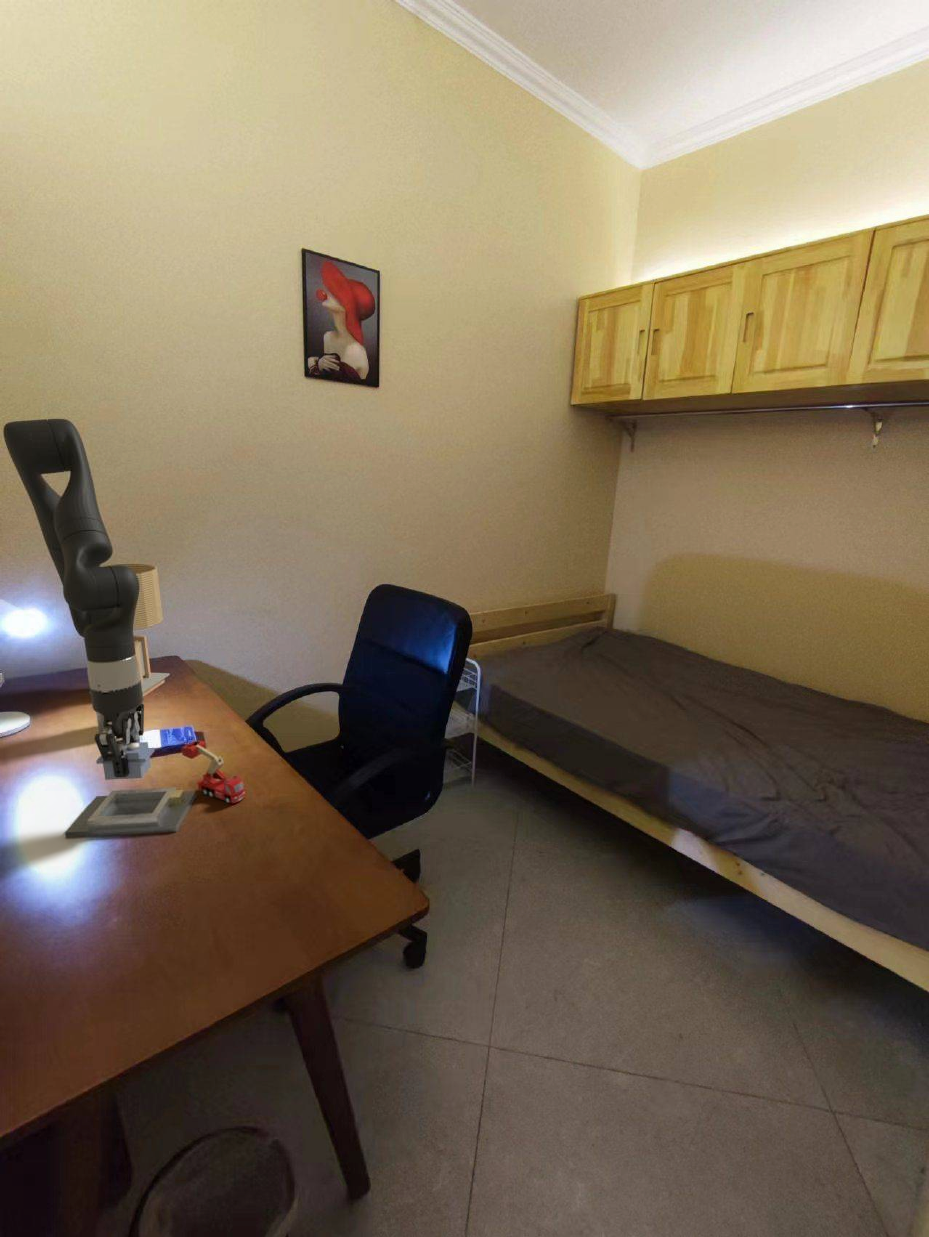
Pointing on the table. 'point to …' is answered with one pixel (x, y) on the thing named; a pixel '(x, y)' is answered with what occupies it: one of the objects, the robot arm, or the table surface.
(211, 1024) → the table surface
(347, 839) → the table surface
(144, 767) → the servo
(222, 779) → the toy fire truck
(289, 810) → the table surface
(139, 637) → the desk lamp
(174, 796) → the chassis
